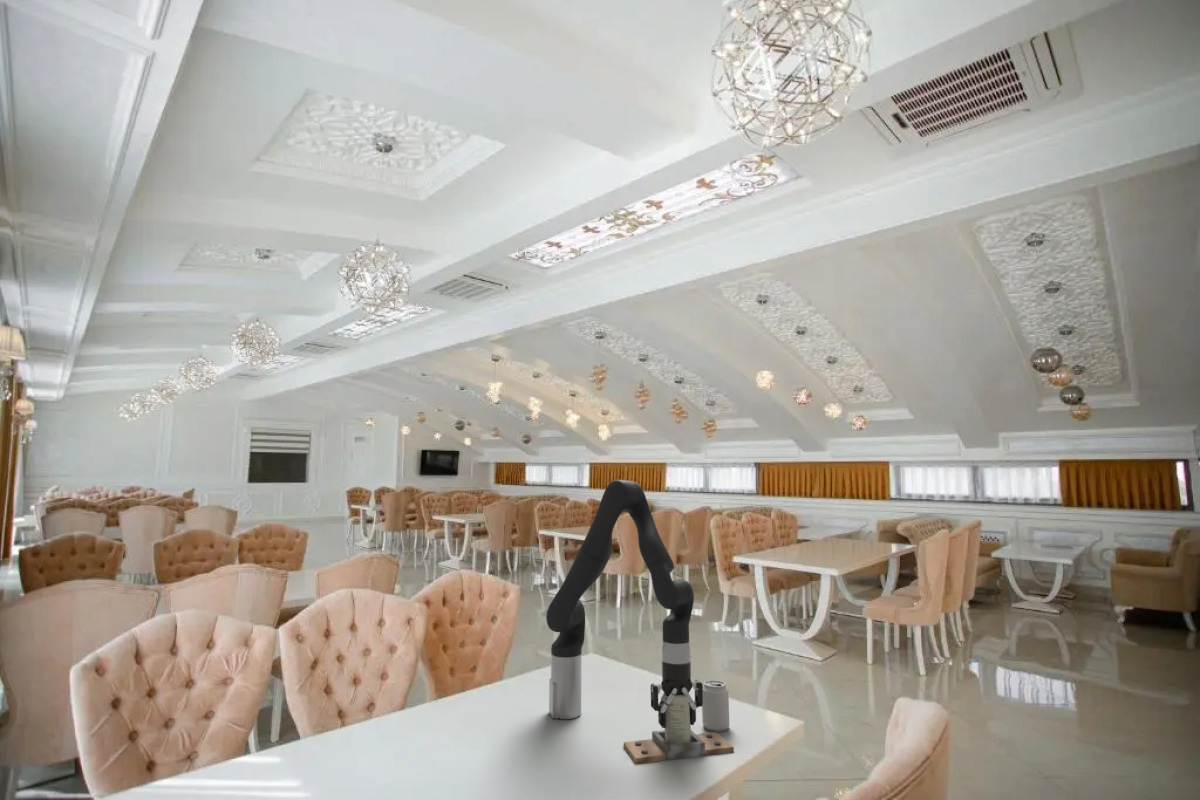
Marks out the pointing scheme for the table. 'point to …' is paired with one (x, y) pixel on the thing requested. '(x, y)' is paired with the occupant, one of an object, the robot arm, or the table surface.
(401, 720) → the table surface
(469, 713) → the table surface
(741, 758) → the table surface
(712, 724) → the can
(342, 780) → the table surface
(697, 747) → the mounting bracket
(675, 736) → the skincare box
